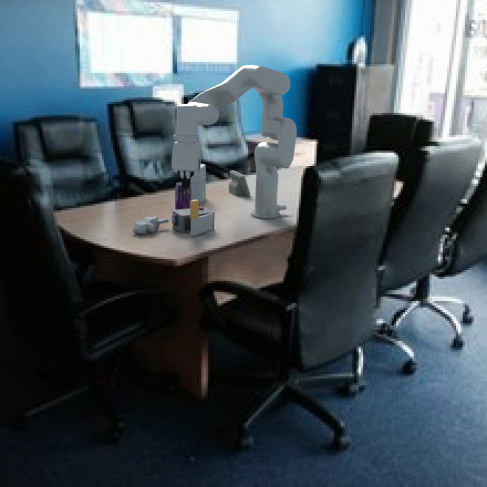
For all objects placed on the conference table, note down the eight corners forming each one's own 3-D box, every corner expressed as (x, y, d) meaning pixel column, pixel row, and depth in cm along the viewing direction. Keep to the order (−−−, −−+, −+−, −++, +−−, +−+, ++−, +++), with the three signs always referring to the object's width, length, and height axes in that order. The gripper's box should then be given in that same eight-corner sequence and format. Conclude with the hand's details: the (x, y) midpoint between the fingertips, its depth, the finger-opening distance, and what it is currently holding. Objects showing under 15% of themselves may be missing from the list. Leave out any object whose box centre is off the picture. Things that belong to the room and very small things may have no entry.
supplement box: (206, 198, 277) (206, 164, 272) (202, 203, 268) (203, 167, 263) (186, 197, 278) (186, 163, 273) (182, 202, 269) (182, 166, 264)
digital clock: (250, 196, 284) (251, 175, 280) (232, 197, 282) (233, 175, 279) (244, 189, 299) (244, 169, 296) (227, 189, 297) (227, 169, 294)
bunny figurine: (126, 223, 219) (152, 210, 231) (128, 235, 221) (153, 222, 233) (146, 227, 214) (170, 214, 226) (147, 240, 216) (171, 226, 228)
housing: (204, 223, 236) (204, 205, 234) (214, 229, 228) (214, 210, 226) (169, 227, 229) (169, 208, 227) (178, 233, 221) (178, 214, 219)
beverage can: (188, 212, 251) (188, 185, 247) (173, 211, 252) (172, 184, 249) (193, 209, 258) (193, 182, 254) (178, 207, 259) (177, 181, 255)
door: (212, 228, 228) (212, 195, 224) (215, 229, 227) (215, 195, 223) (190, 235, 218) (190, 200, 214) (193, 236, 217) (193, 201, 213)
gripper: (163, 138, 209) (163, 188, 214) (202, 141, 205) (201, 192, 210) (172, 136, 216) (171, 184, 221) (209, 139, 212) (208, 188, 217)
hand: (186, 188), depth 216 cm, fingers closed
